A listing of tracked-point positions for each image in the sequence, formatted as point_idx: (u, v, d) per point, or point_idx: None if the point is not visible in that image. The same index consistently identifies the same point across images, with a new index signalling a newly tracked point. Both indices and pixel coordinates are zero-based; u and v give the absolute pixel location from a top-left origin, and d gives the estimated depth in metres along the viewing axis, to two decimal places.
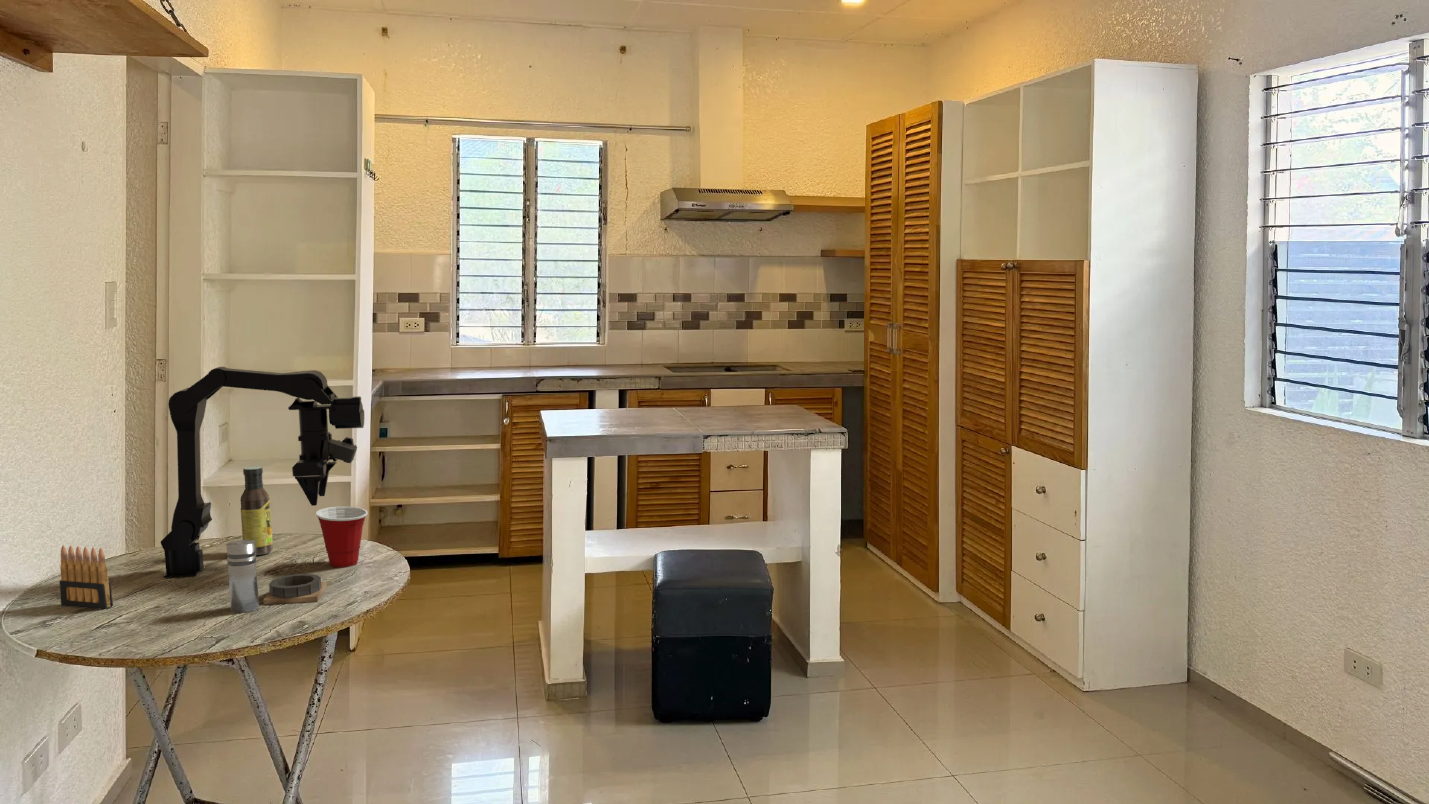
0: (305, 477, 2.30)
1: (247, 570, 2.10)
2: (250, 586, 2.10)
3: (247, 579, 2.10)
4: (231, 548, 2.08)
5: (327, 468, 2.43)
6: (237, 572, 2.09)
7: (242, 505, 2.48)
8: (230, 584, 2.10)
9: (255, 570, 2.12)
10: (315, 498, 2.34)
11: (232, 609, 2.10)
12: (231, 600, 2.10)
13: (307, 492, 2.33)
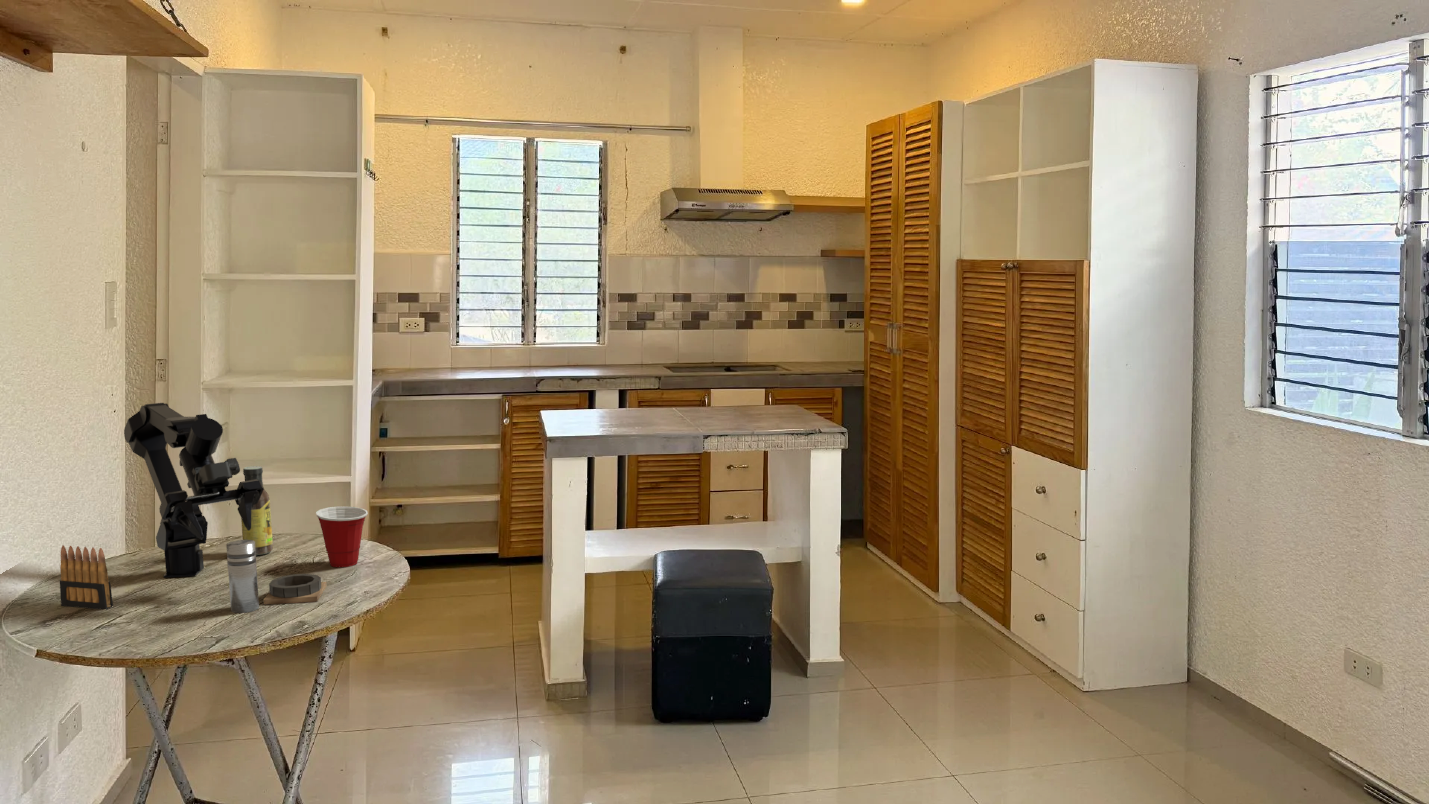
0: (172, 514, 2.14)
1: (247, 570, 2.10)
2: (250, 586, 2.10)
3: (247, 579, 2.10)
4: (231, 548, 2.08)
5: (243, 500, 2.22)
6: (237, 572, 2.09)
7: None
8: (230, 584, 2.10)
9: (256, 570, 2.12)
10: (196, 530, 2.13)
11: (232, 609, 2.10)
12: (231, 600, 2.10)
13: (190, 528, 2.14)
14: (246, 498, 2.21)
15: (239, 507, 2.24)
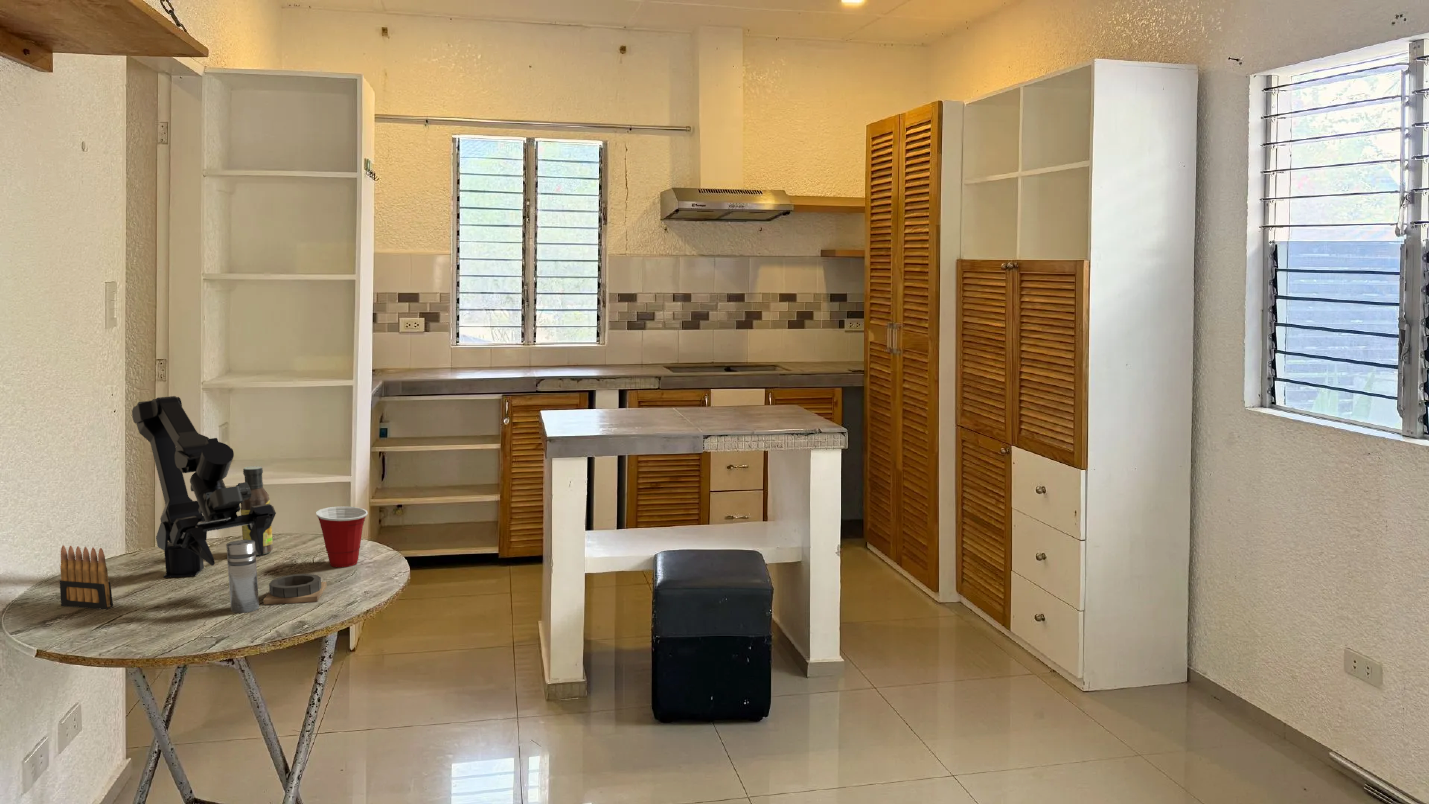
0: (182, 540, 2.10)
1: (247, 570, 2.10)
2: (250, 586, 2.10)
3: (247, 579, 2.10)
4: (231, 548, 2.08)
5: (255, 525, 2.18)
6: (237, 572, 2.09)
7: (242, 505, 2.48)
8: (230, 584, 2.10)
9: (255, 570, 2.12)
10: (207, 556, 2.09)
11: (232, 609, 2.10)
12: (231, 600, 2.10)
13: (201, 555, 2.11)
14: (258, 523, 2.18)
15: (251, 532, 2.20)
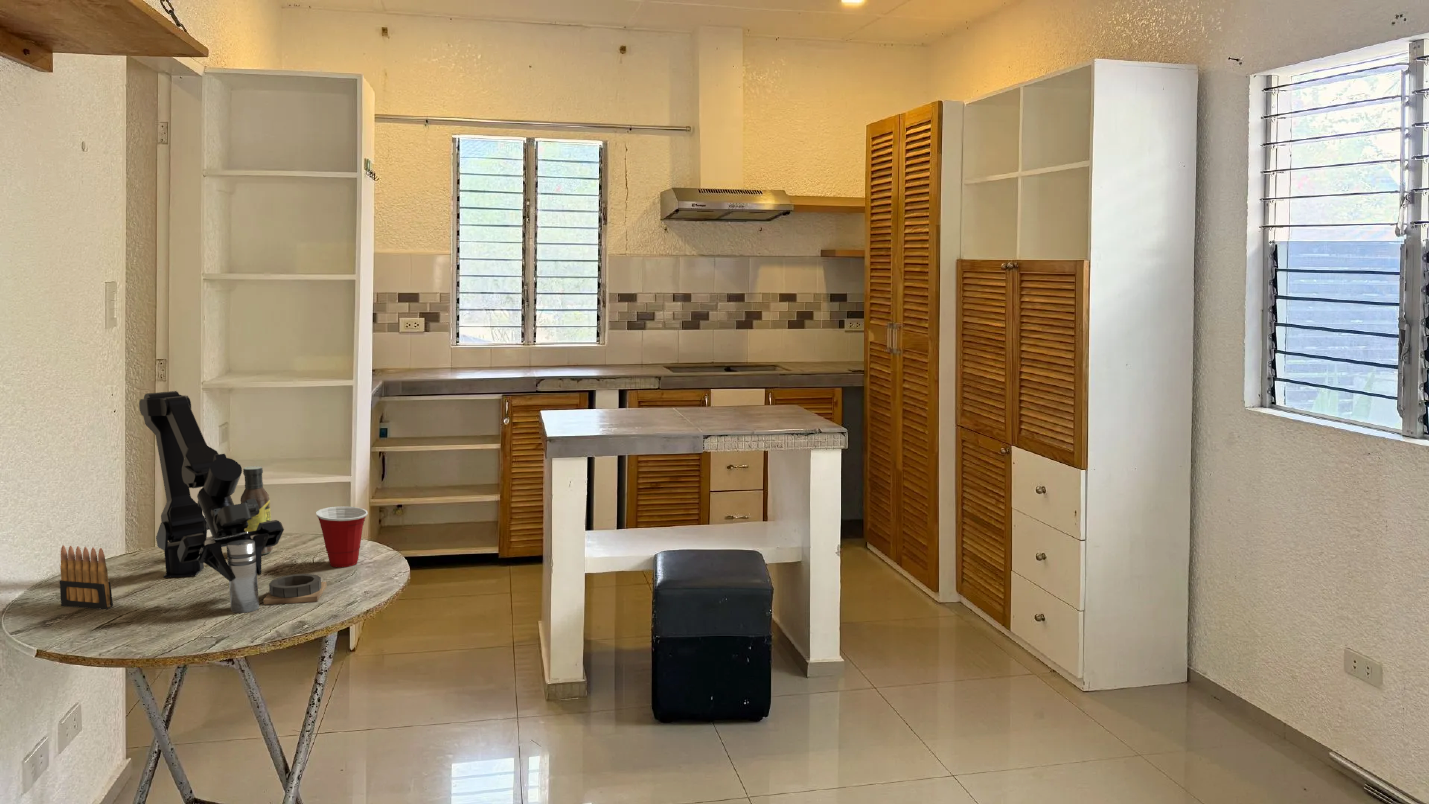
0: (200, 556, 2.10)
1: (247, 570, 2.10)
2: (250, 586, 2.10)
3: (247, 579, 2.10)
4: (231, 548, 2.08)
5: None
6: (237, 572, 2.09)
7: None
8: (230, 584, 2.10)
9: (255, 570, 2.12)
10: (225, 572, 2.09)
11: (232, 609, 2.10)
12: (231, 599, 2.10)
13: (219, 570, 2.10)
14: (256, 541, 2.14)
15: None
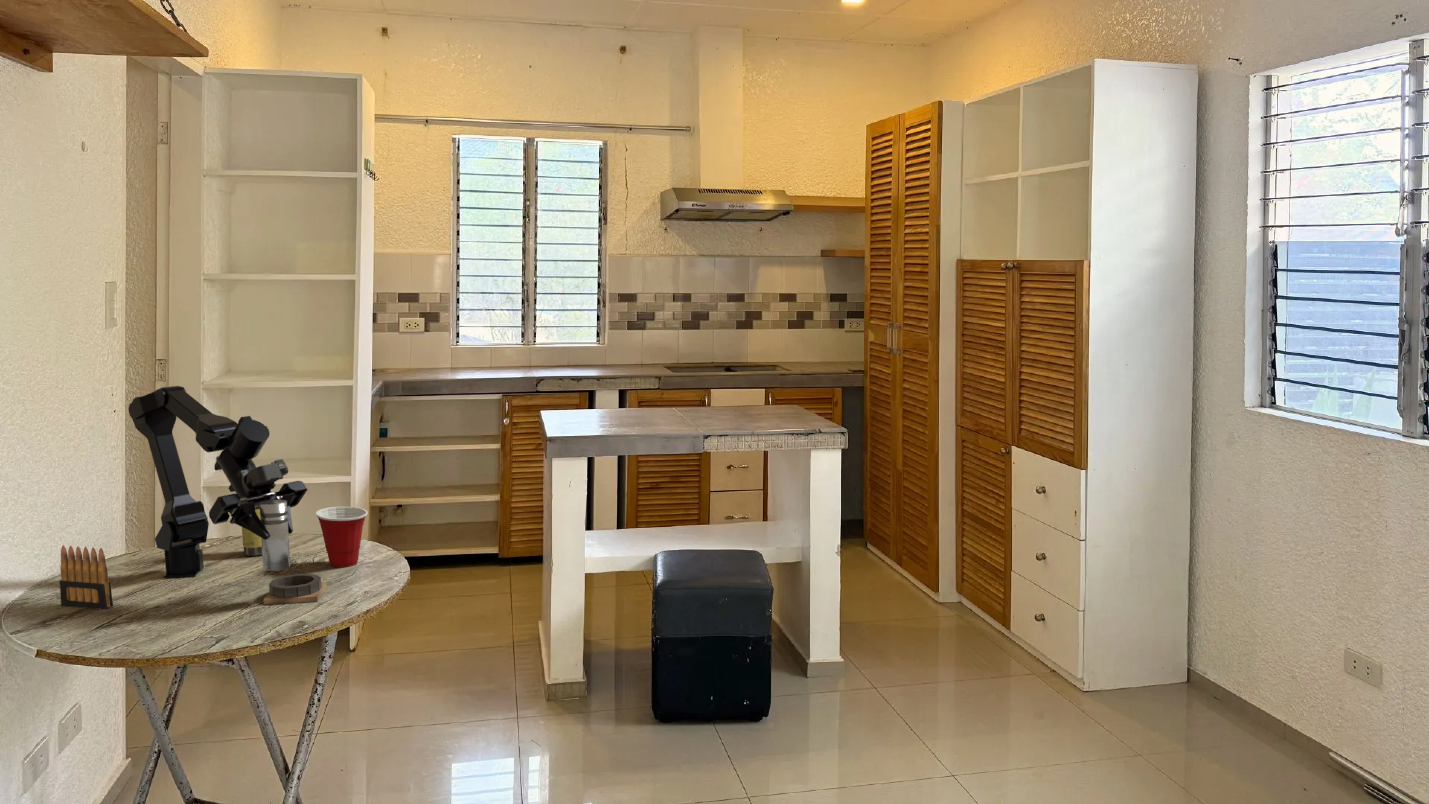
0: (233, 516, 2.12)
1: (281, 528, 2.14)
2: (284, 544, 2.15)
3: (282, 537, 2.14)
4: (266, 507, 2.12)
5: None
6: (273, 530, 2.13)
7: None
8: (264, 543, 2.14)
9: None
10: (261, 531, 2.13)
11: (266, 567, 2.14)
12: (265, 558, 2.14)
13: (252, 529, 2.13)
14: None
15: None
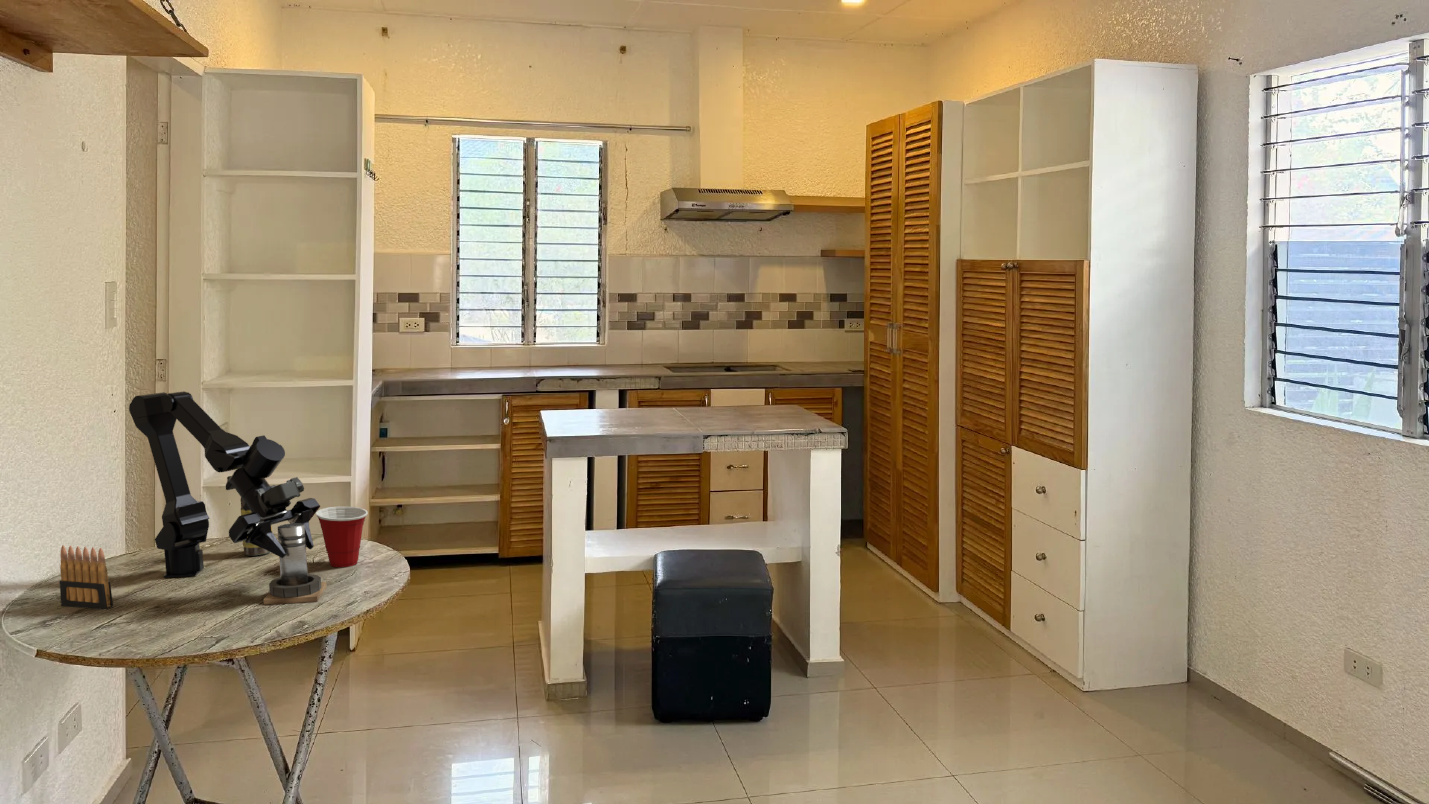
0: (249, 536, 2.15)
1: (301, 551, 2.19)
2: (303, 566, 2.19)
3: (301, 559, 2.19)
4: (286, 530, 2.17)
5: (300, 520, 2.23)
6: (292, 553, 2.17)
7: (242, 505, 2.48)
8: (284, 566, 2.18)
9: (305, 551, 2.21)
10: (278, 549, 2.15)
11: None
12: (285, 581, 2.18)
13: (268, 548, 2.16)
14: (303, 517, 2.23)
15: None
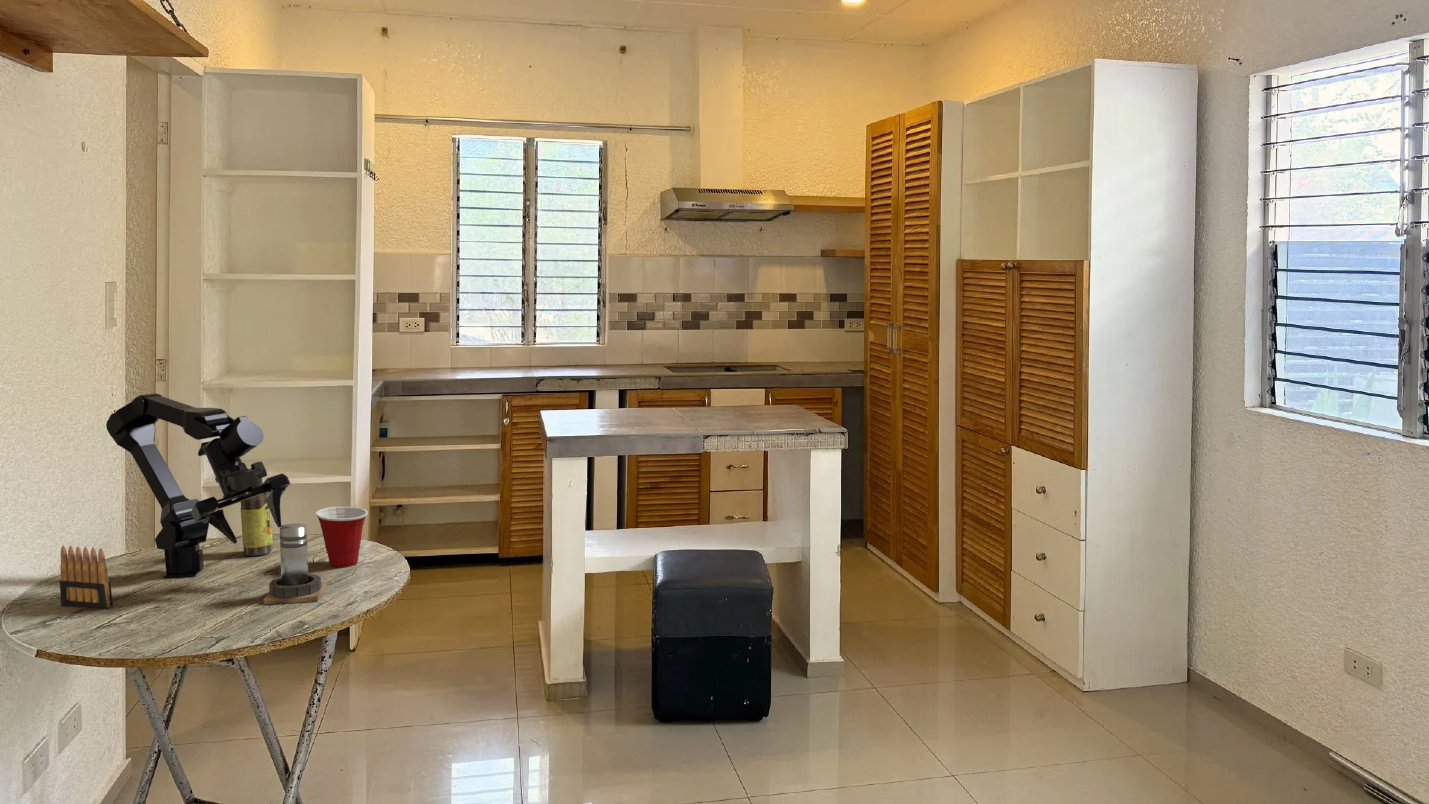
0: (204, 519, 2.20)
1: (302, 552, 2.18)
2: (304, 567, 2.19)
3: (302, 560, 2.19)
4: (288, 531, 2.17)
5: (271, 497, 2.27)
6: (294, 553, 2.17)
7: (242, 505, 2.48)
8: (285, 566, 2.18)
9: None
10: (229, 536, 2.21)
11: None
12: (285, 581, 2.18)
13: (223, 532, 2.22)
14: (274, 496, 2.27)
15: (267, 500, 2.29)
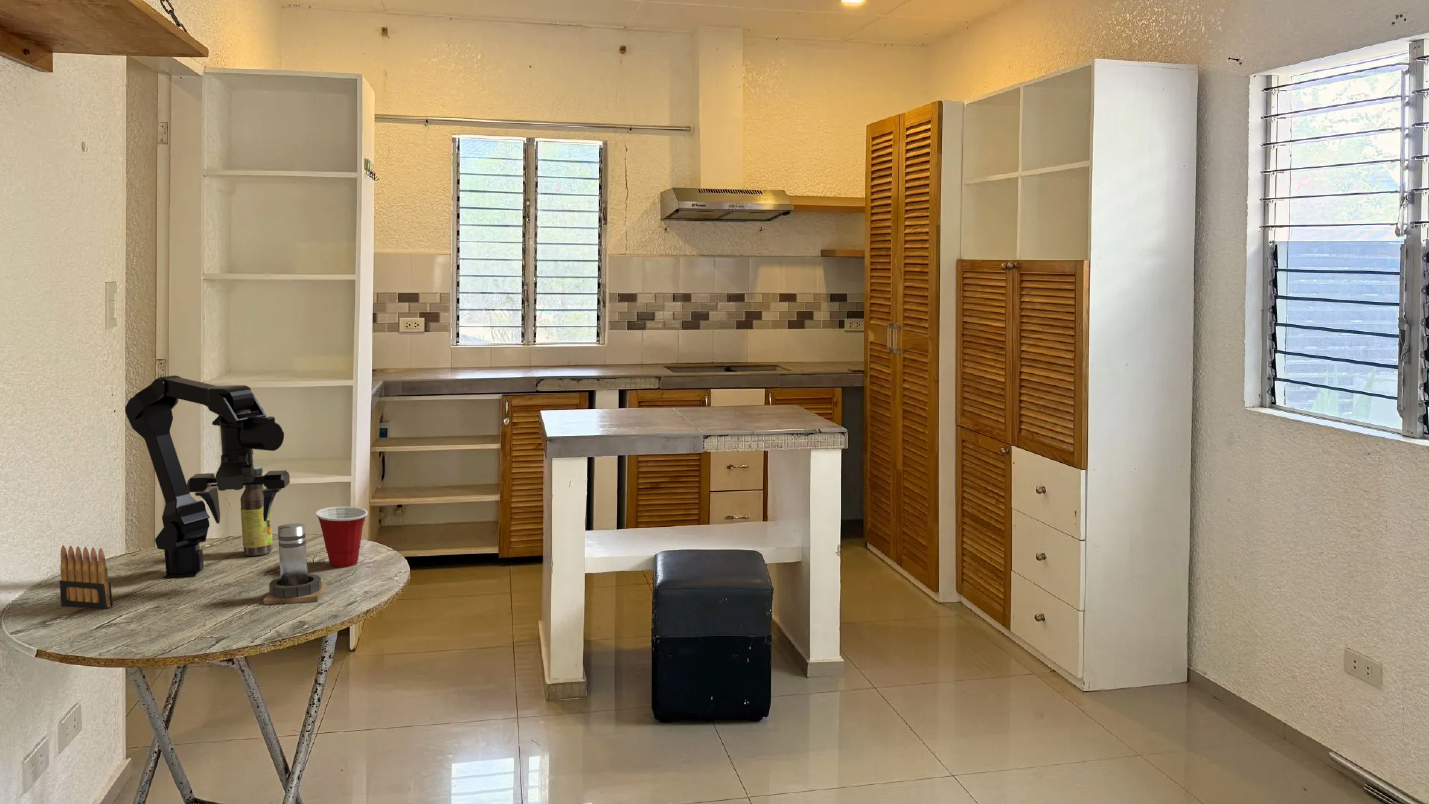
0: None
1: (301, 551, 2.19)
2: (303, 567, 2.19)
3: (301, 559, 2.19)
4: (286, 530, 2.17)
5: None
6: (293, 553, 2.17)
7: (242, 505, 2.48)
8: (284, 566, 2.18)
9: None
10: None
11: None
12: (285, 581, 2.18)
13: None
14: (265, 494, 2.25)
15: None
